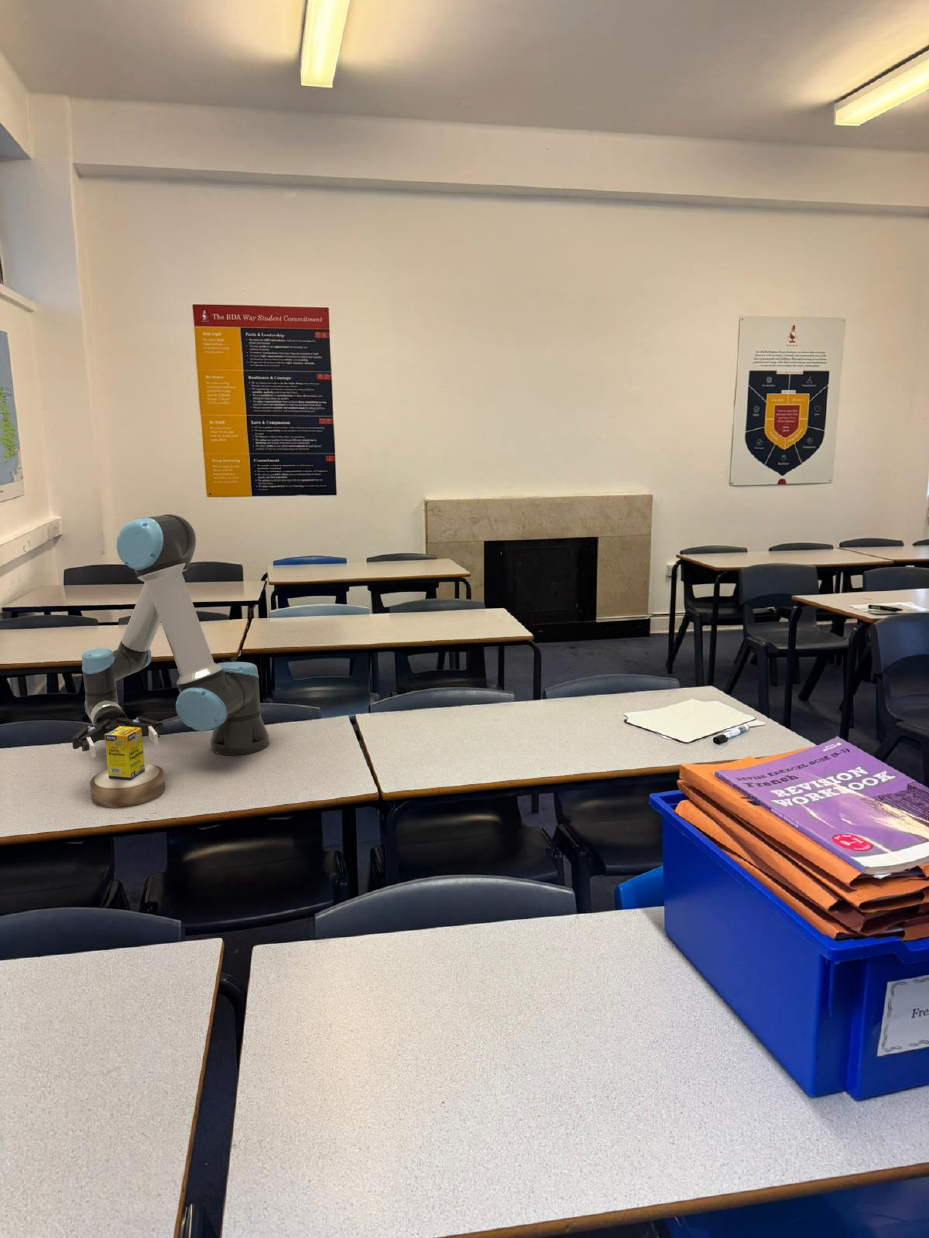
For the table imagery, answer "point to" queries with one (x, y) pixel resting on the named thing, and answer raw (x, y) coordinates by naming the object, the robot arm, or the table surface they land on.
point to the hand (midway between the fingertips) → (125, 745)
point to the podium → (127, 788)
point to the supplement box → (124, 753)
